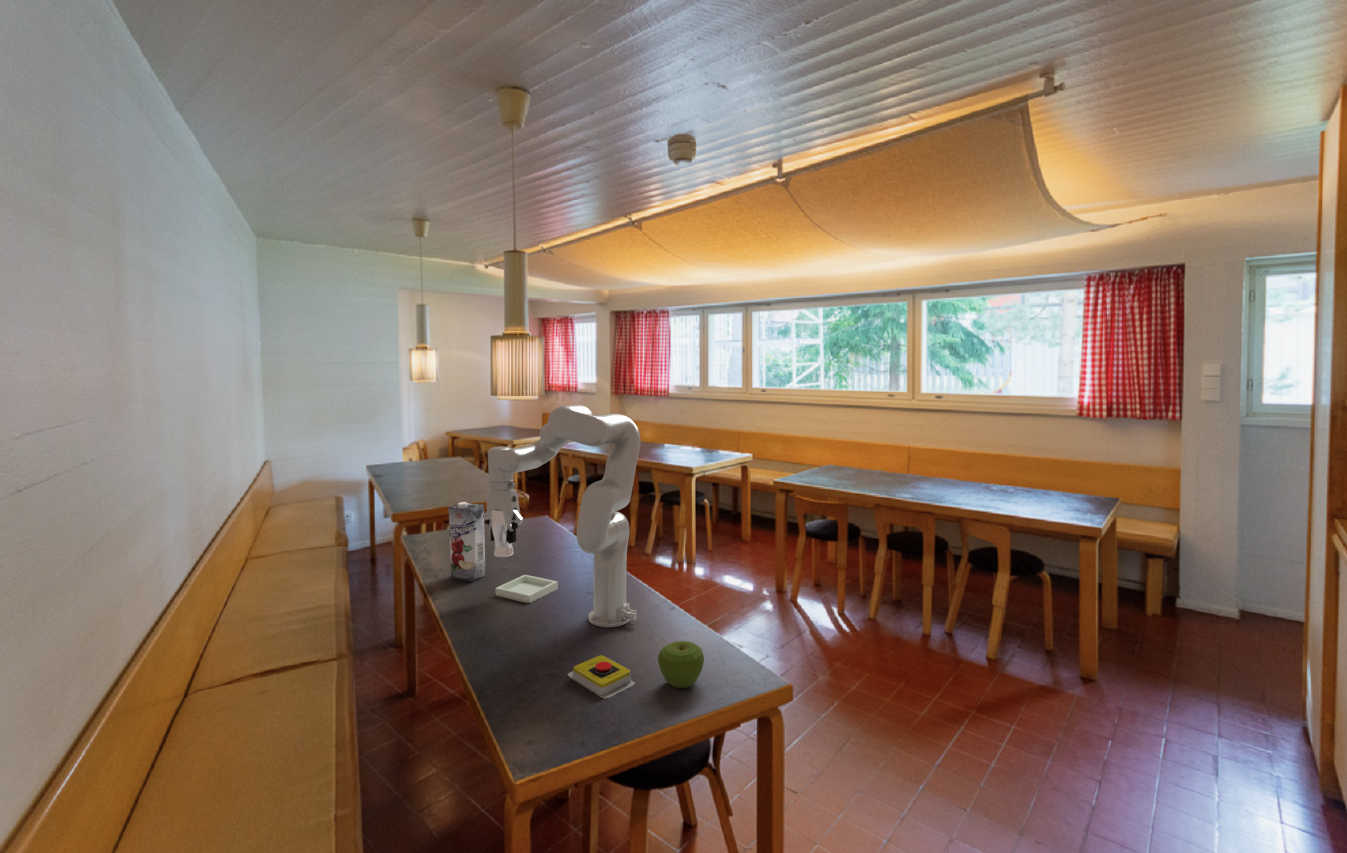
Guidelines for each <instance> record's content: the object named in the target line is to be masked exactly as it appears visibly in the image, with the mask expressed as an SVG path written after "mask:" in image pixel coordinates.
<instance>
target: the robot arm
mask: <svg viewBox="0 0 1347 853" xmlns="http://www.w3.org/2000/svg"><path fill="white" fill-rule="evenodd" d="M539 438H540V439H538V440H536V441H535V442H533V443H532V444H530V445H525V446H518V447H514V448H511V447H510V446H493V447H490V448H489V449H488V452H487V462H488V463H487V465H488V490H487V496H486V511H484V514H483V518H484V522H485V523H486V525H488V529H489V530H490V532H489V533H490V541H491V542H495V541H494V536H493V532H492V526H491V509H493V510H498V511H500V510H502V511H503V515H504V519H505V522H507V523H508V528H509V531H508V543H509V544H511V543H512V544H513V543H515V542H517V530H519V529H518V528H519V527H520V525H521V524H522V523H523V522H524V518H523V516H521V511H520V503H519V496H518V492H517V489H515V488H516V485H517V484H516V483H515V481H514V480H515V479H514V478H515V477H514V474H515V473H521V472H524V471H529V470H534V469H537V468H539V467H541V466H542V465H544V464H546V463H547V462H549V461H551V460H552V459H553V458H555V457H556V456H557V454H559V452H560V451H561V449H563V447H565V446H567V445H568V444H569V443H571V442H575V443H577V444H580V445H581V444H582V445H584V446H588V447H593V448H600V447H605V446H607V445H608V446H610V445H612V448H611V450H610V453H609V454H608V457H607V460H606V461H605V470H604V473H603V477H602V479H601V480H597V481H595V482H593V483H591V484H590V485H588V486H587V488H586V489H585V490H584V492H583V495H582V497H581V502H580V508H579V515H578V520H577V526H576V542H577V544H578V546H579V548H580V549H581V550H582V551H583V553H585V554H589V555H593V569H592V570H593V571H592V572H593V574H592V575H593V610H592V611H590V612H589V613H588V616H587V618H588V619H587V620H588V622H589V623H590V624H591V625H593V626H597V627H601V628H617V627H621V626H623V625H624V626H625V625H627V624H629V622H630V621H631V620H632V621H636V620H637V618H638V617H637V616H638V610H636V609H631V608H630V606H631V604H630V602H627V554H628V553H627V552H628V546H629V544H628V543H629V537H630V523H629V520H628V518H627V517H626V515H624V514H623V513H621V512H619V511H620V510H622V509H624V508H625V507H627V506H628V505H629V504H630V502H631V497H632V494H633V493H632V492H633V488H634V487H633V486H634V481H635V475H636V468H637V463H638V459H639V455H640V449H641V435H640V431H639V428H638V426H637V424H636V423H635V422H634V421H633V419H631V418H630V417H628V416H627V415H625V414H621V413H606V414H601V415H600V414H599V415H594V414H593V412H592V410H591V409H590V408H589V407H587V406H585V405H582V404H569V405H560V406H557V407H555V408H553V409H552V411H551V412H550V414H549V416H548V420H547V423H545V424H544V425H543V426H541V428H540V430H539ZM512 518H513V520H512ZM512 522H513V526H512V525H511V523H512Z"/></svg>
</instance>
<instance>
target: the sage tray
mask: <svg viewBox="0 0 1347 853" xmlns="http://www.w3.org/2000/svg"><path fill="white" fill-rule="evenodd" d="M558 584H559V581H556V580H553V579H547V578H543V577H539V576H534V575H529V574H528V575H527V574H523V575H521V576H519V577H517V578H514V579H512V580H510V581H507V582H506V583H503V584H501V585H499V586H497V587H495V596H496V597H500V598H504V599H509V600H514V601H516V602H522V603H527V604H529V603H530V604H532V603H534V602H536V601H537V599H538V600H539V599H542V598H543V597H546V596H547V595H549V594H551V593H552V592H553V593H554V591H557V590H558V589H559V585H558Z"/></svg>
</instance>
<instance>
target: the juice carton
mask: <svg viewBox="0 0 1347 853" xmlns="http://www.w3.org/2000/svg"><path fill="white" fill-rule="evenodd" d="M484 513H485V504H483V503H482V504H481V503H479V504H477V503H475V504H474V503H468V502H466V501H462V502H458V503H457V504H453V505H451V506H449V507H448V525H449V528H448V529H449V530H448V531H449V559H450V560H449V561H450V562H449V563H450V564H449V565H450V578H451V579H452V580H455V581H461V582H462V581H463V582H468V583H469V582H470V583H472V582H473V583H474V582H475V581H476V579H477V580H479V579H480V578H482V577H484V576H485V575H486V574H485V573H486V572H485V571H486V548H485V547H486V546H485V545H486V544H485V542H486V541H485V540H486V539H485V519H484V518H483V514H484ZM478 578H479V579H478Z"/></svg>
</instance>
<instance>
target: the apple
mask: <svg viewBox="0 0 1347 853" xmlns="http://www.w3.org/2000/svg"><path fill="white" fill-rule="evenodd" d="M657 662H658V665H659V670H660V672H661V674H662V676H663V679H664V681H666V683H668V684H669V685H670V686H672V687H673V688H675V687H676V688H675V689H679V688H684V689H687V688H689V687H690V686H692V685H695V683H697V680H698V678H699V676H700V675H701V672H702V670H703V666H704V663H705V657H704V653H703V649H702V647H700V646H699V645H697V644H696V643H694V642H691V641H686V640H678V641H673V642H669V643H668V644H666V645H664V646H662V648H661V650H660V651H659V653H658V656H657Z"/></svg>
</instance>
